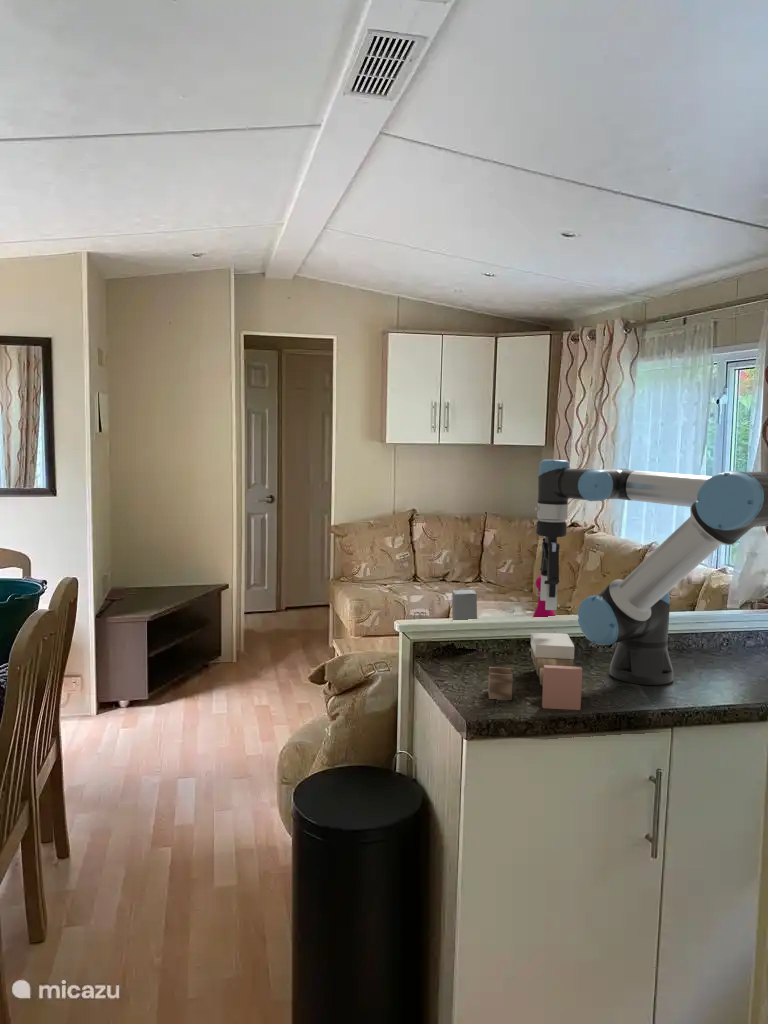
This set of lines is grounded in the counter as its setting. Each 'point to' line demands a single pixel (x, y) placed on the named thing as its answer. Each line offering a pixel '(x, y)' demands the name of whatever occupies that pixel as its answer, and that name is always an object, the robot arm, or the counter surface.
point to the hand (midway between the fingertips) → (548, 605)
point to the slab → (552, 645)
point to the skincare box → (464, 604)
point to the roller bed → (549, 662)
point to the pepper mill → (541, 603)
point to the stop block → (562, 687)
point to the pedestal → (500, 683)
